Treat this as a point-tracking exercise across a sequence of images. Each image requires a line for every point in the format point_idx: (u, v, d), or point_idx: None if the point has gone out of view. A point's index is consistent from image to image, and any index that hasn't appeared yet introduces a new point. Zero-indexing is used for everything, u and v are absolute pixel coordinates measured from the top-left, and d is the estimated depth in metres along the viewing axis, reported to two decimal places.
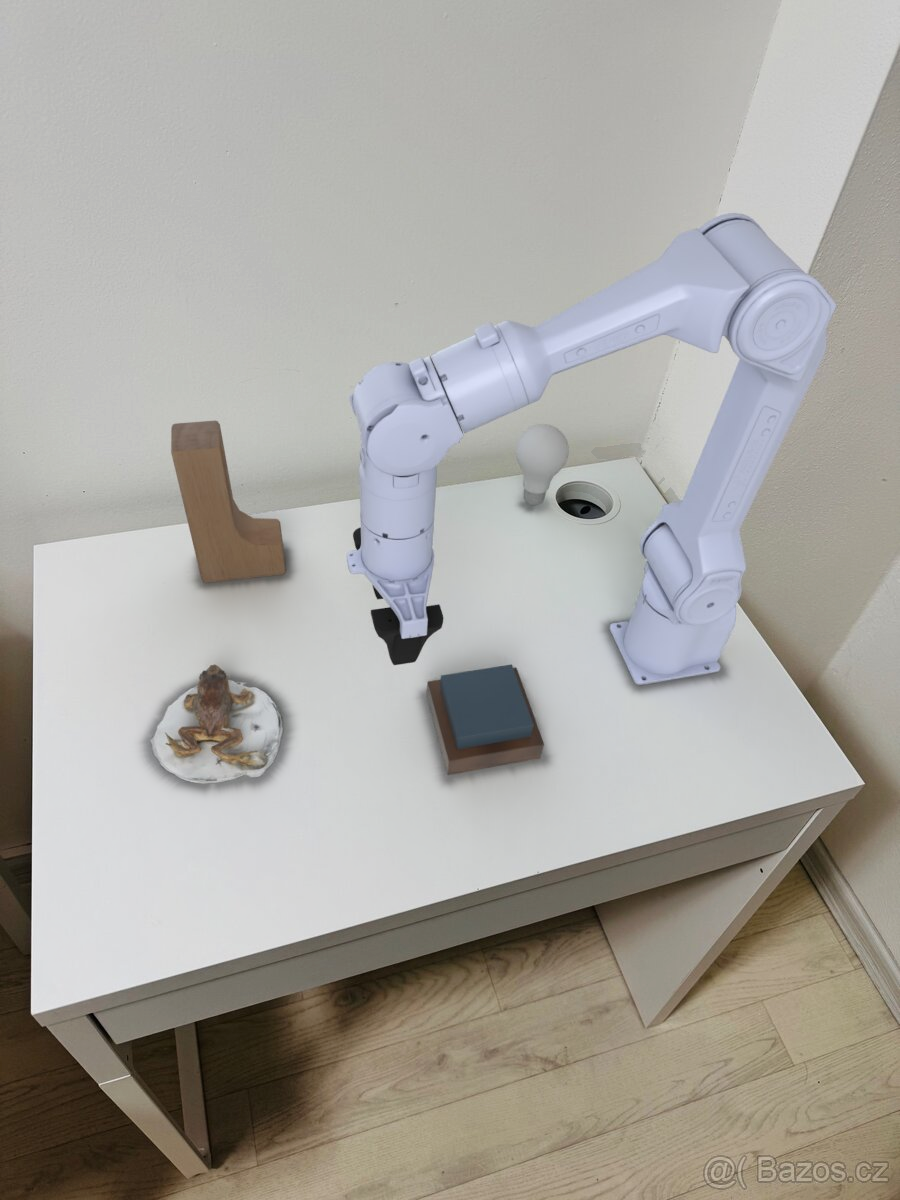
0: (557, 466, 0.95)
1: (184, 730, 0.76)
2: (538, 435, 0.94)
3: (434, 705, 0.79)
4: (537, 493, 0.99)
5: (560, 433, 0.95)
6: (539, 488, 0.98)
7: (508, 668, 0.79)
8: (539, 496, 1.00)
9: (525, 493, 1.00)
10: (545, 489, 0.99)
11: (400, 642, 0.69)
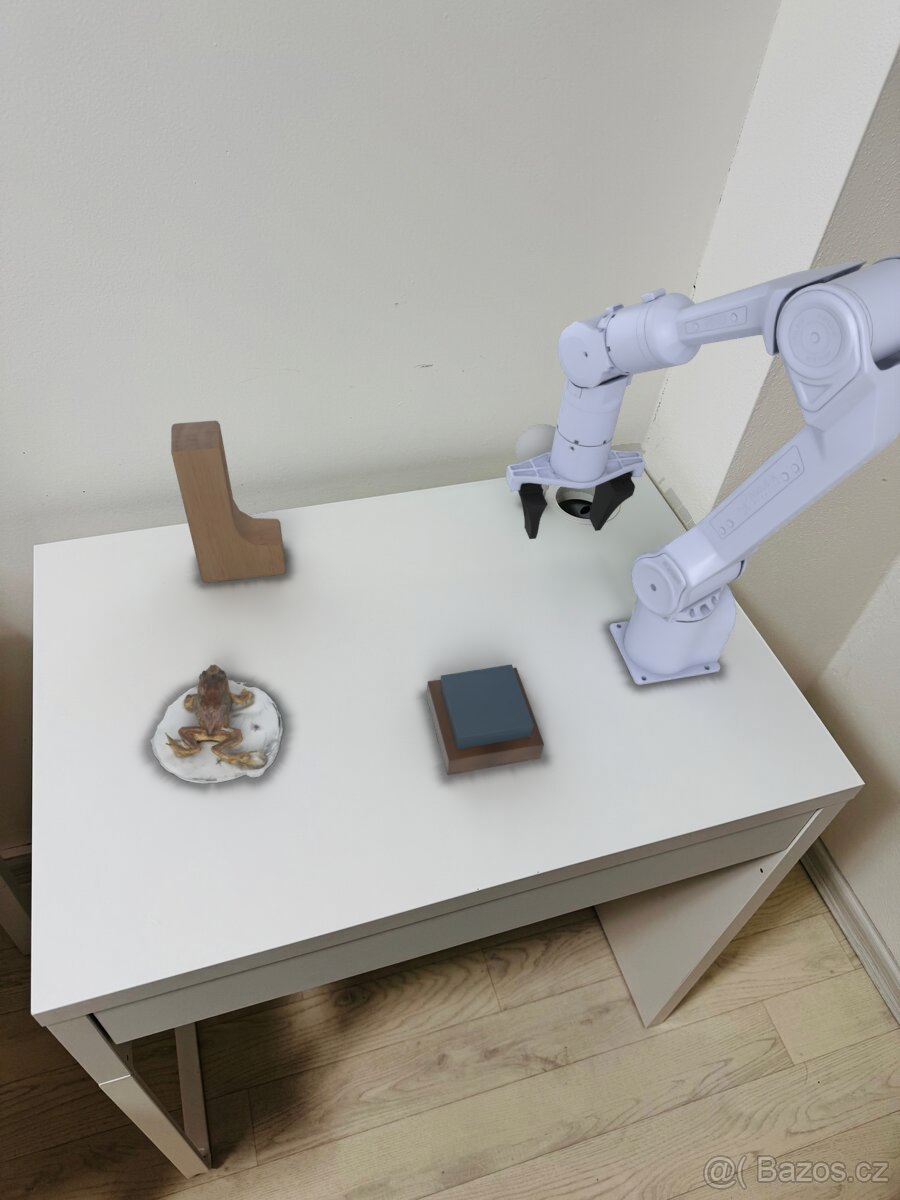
0: None
1: (184, 730, 0.76)
2: (538, 435, 0.94)
3: (434, 705, 0.79)
4: None
5: None
6: None
7: (508, 668, 0.79)
8: None
9: None
10: (545, 489, 0.99)
11: None
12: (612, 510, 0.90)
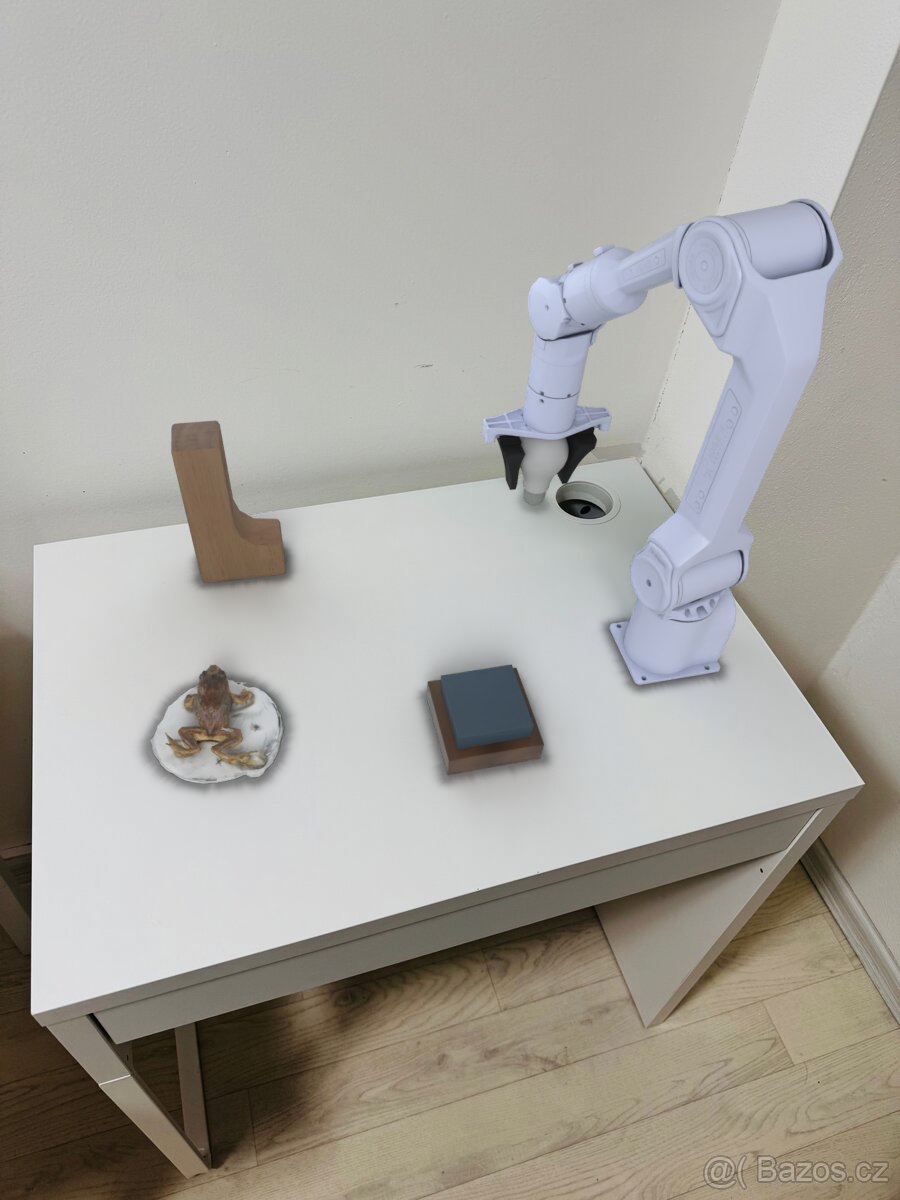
0: (557, 466, 0.95)
1: (184, 730, 0.76)
2: None
3: (434, 705, 0.79)
4: (537, 493, 0.99)
5: None
6: (539, 488, 0.98)
7: (508, 668, 0.79)
8: (539, 496, 1.00)
9: (525, 493, 1.00)
10: (545, 489, 0.99)
11: None
12: (577, 463, 0.97)
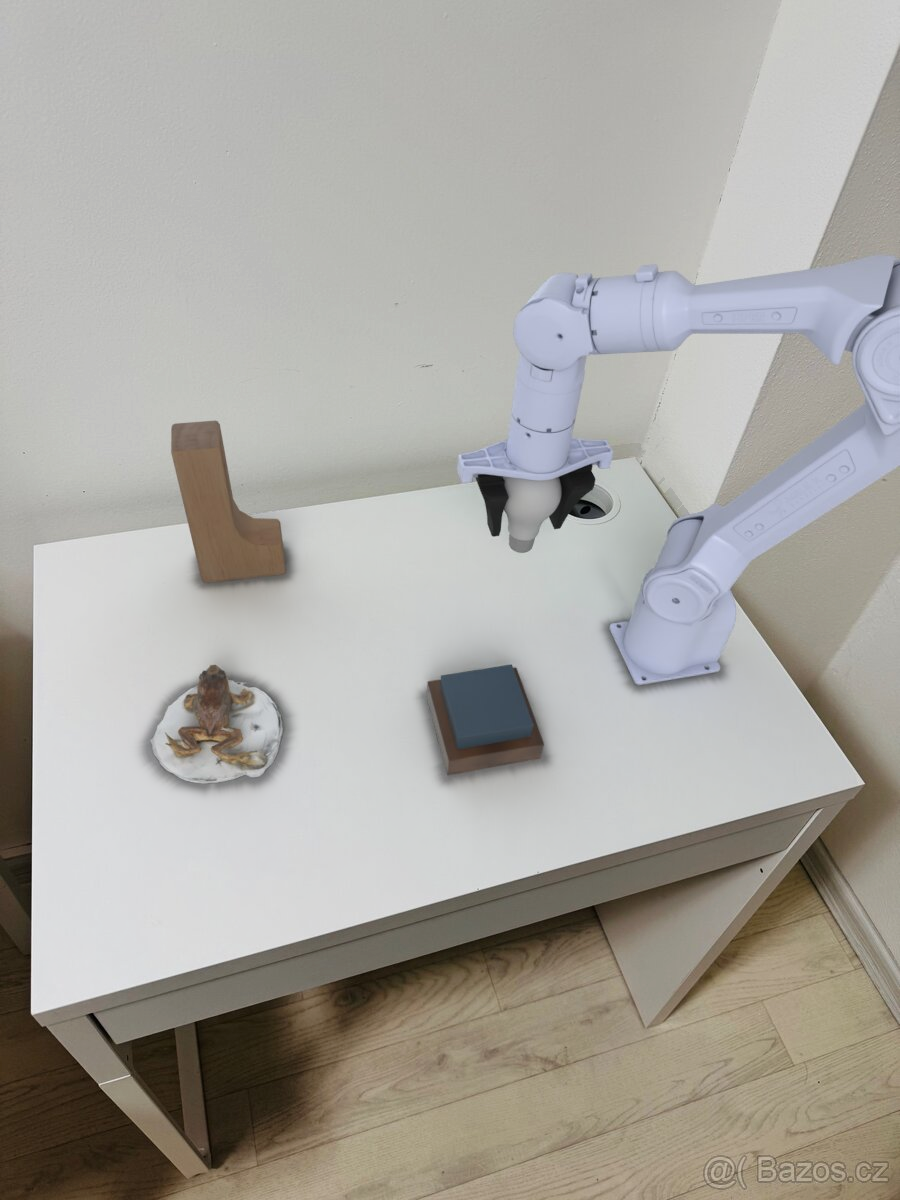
0: (548, 510, 0.79)
1: (184, 730, 0.76)
2: None
3: (434, 705, 0.79)
4: (524, 540, 0.84)
5: None
6: (526, 534, 0.83)
7: (508, 668, 0.79)
8: (527, 543, 0.84)
9: (510, 539, 0.85)
10: (534, 535, 0.83)
11: None
12: (571, 506, 0.81)
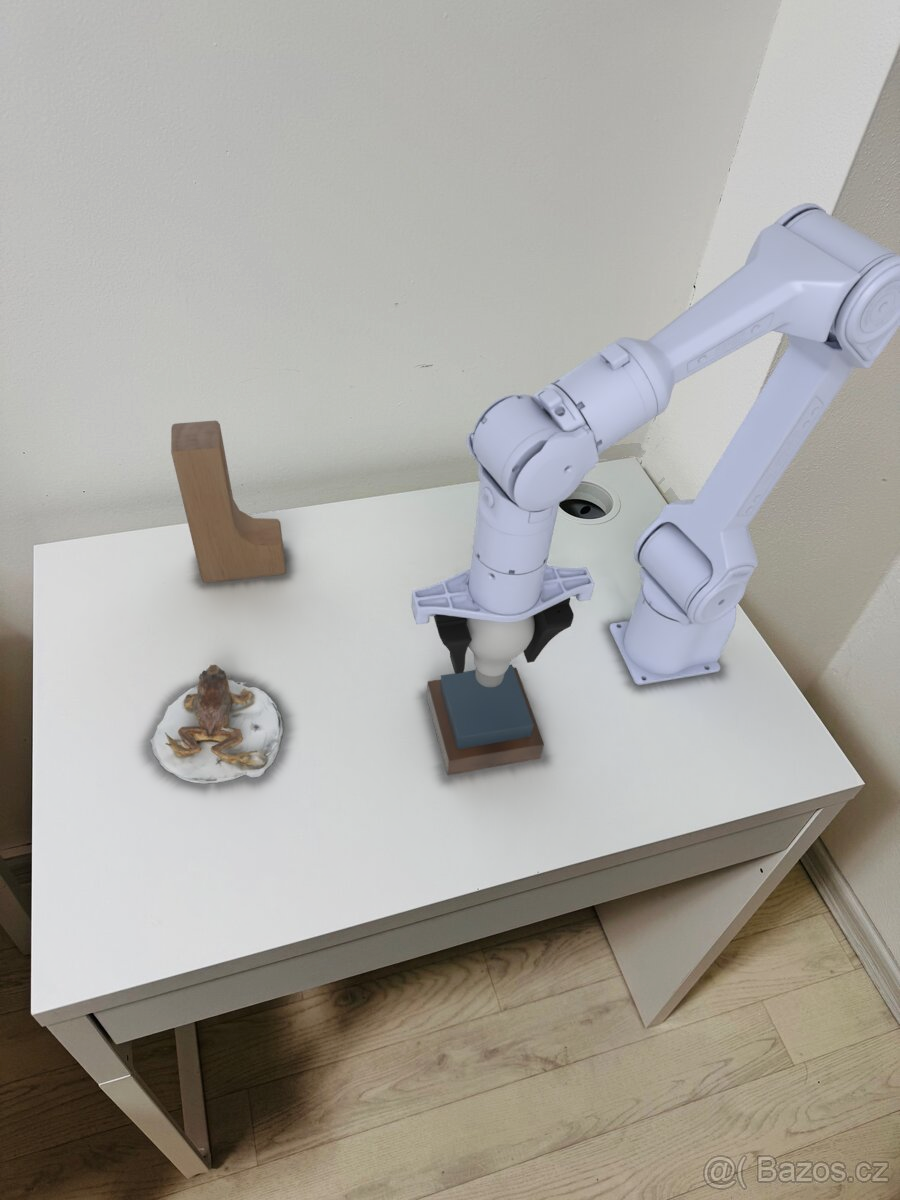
0: (518, 650, 0.68)
1: (184, 730, 0.76)
2: None
3: (434, 705, 0.79)
4: (492, 676, 0.72)
5: None
6: (495, 671, 0.71)
7: (508, 668, 0.79)
8: (496, 678, 0.73)
9: (477, 672, 0.73)
10: (503, 670, 0.72)
11: None
12: (546, 641, 0.70)
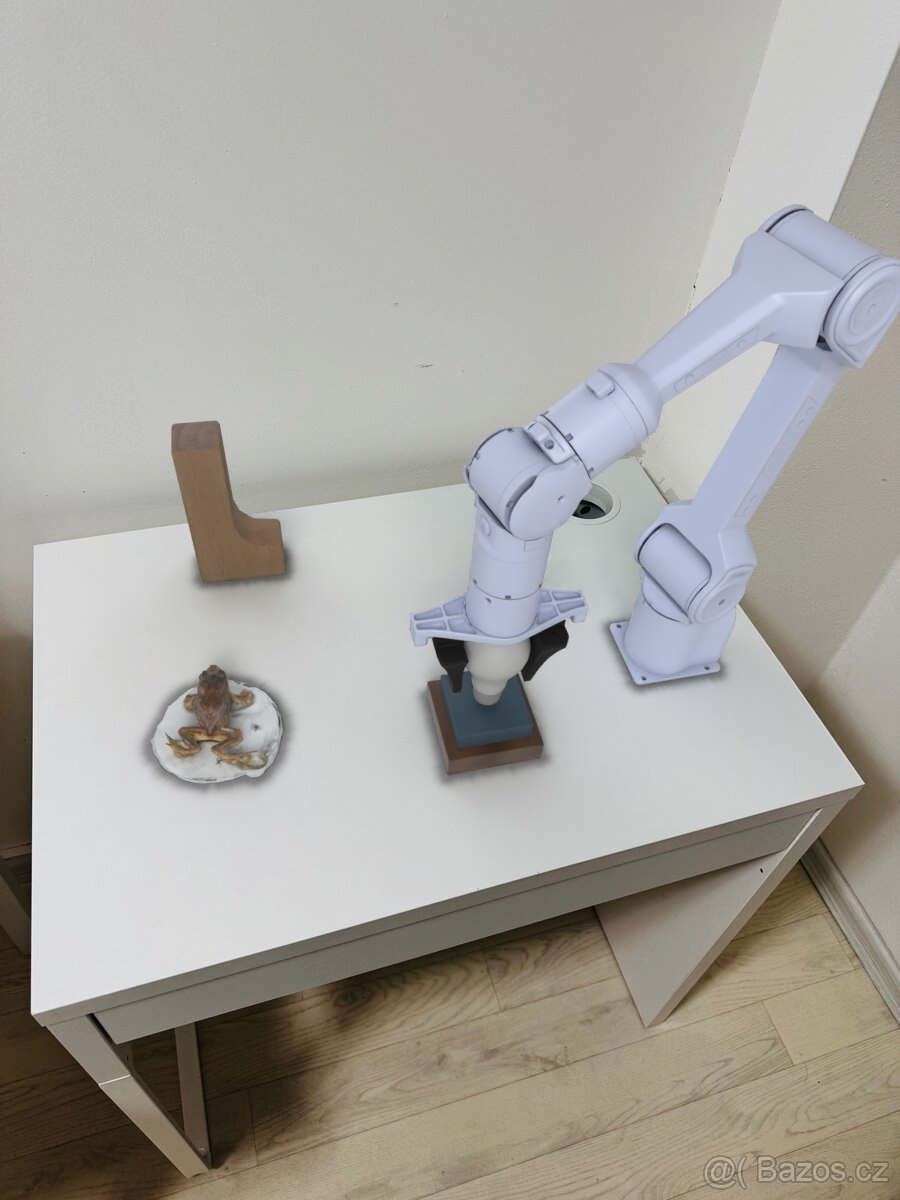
0: (515, 670, 0.69)
1: (184, 730, 0.76)
2: None
3: (434, 705, 0.79)
4: (490, 694, 0.74)
5: None
6: (492, 690, 0.73)
7: None
8: (493, 697, 0.75)
9: (475, 691, 0.75)
10: (500, 689, 0.74)
11: None
12: (542, 661, 0.71)
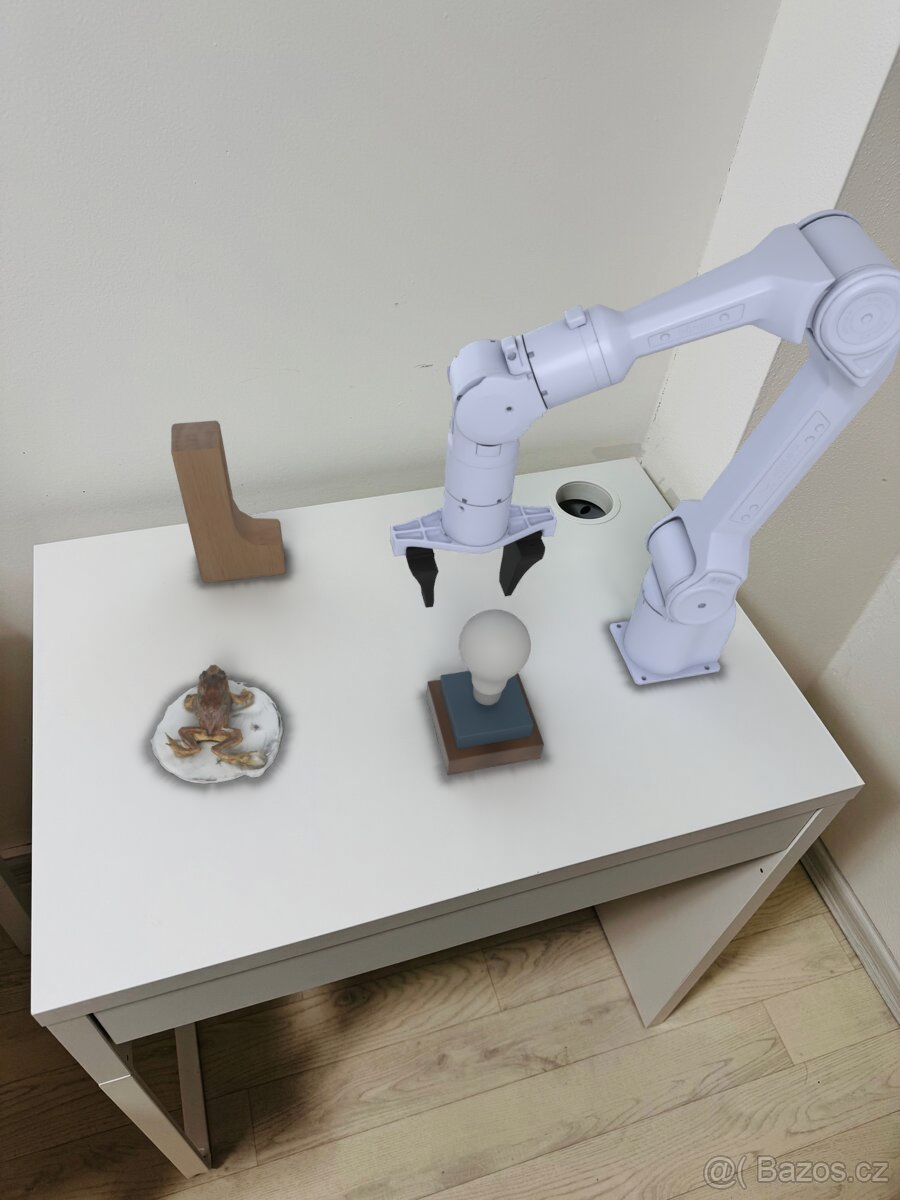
0: (515, 670, 0.69)
1: (184, 730, 0.76)
2: (487, 632, 0.68)
3: (434, 705, 0.79)
4: (490, 694, 0.74)
5: (518, 625, 0.69)
6: (492, 689, 0.73)
7: None
8: (493, 696, 0.74)
9: (475, 691, 0.75)
10: (500, 689, 0.74)
11: None
12: (521, 574, 0.76)
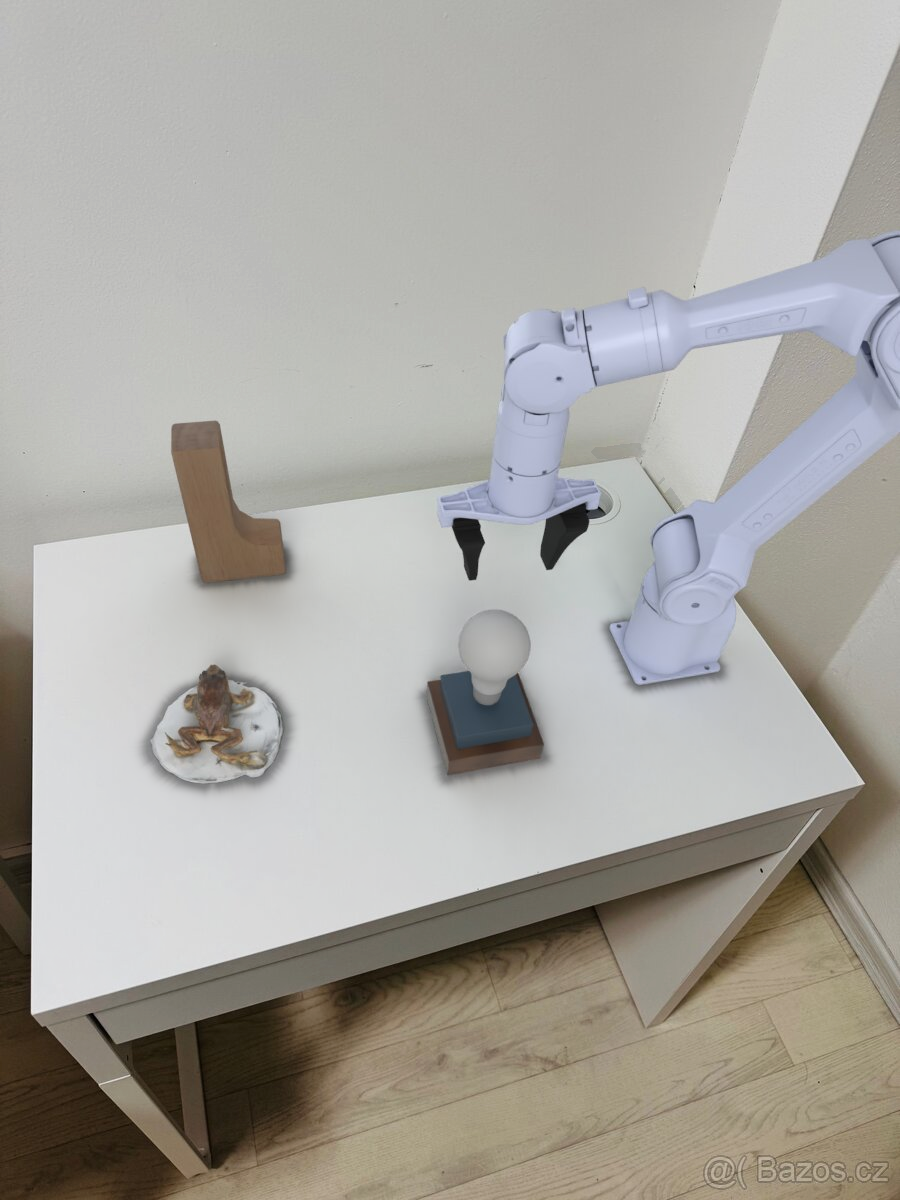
0: (514, 670, 0.69)
1: (184, 730, 0.76)
2: (487, 632, 0.68)
3: (434, 705, 0.79)
4: (490, 694, 0.74)
5: (518, 626, 0.69)
6: (492, 690, 0.73)
7: None
8: (493, 697, 0.75)
9: (474, 691, 0.75)
10: (500, 689, 0.74)
11: None
12: (564, 547, 0.77)
